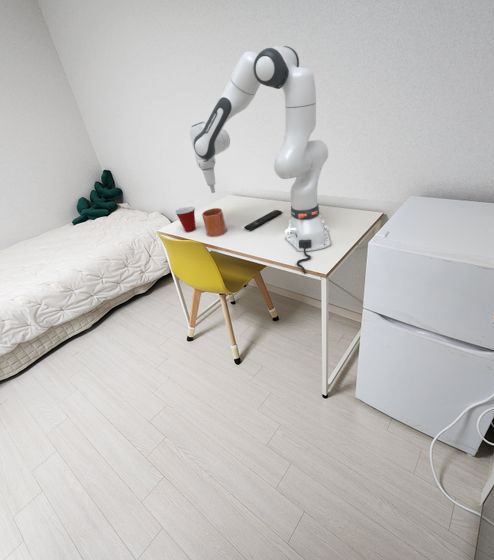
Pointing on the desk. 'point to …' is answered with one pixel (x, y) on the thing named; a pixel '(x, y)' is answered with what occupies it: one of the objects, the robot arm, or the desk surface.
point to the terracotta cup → (214, 222)
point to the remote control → (262, 220)
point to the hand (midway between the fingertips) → (212, 189)
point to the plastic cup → (187, 218)
